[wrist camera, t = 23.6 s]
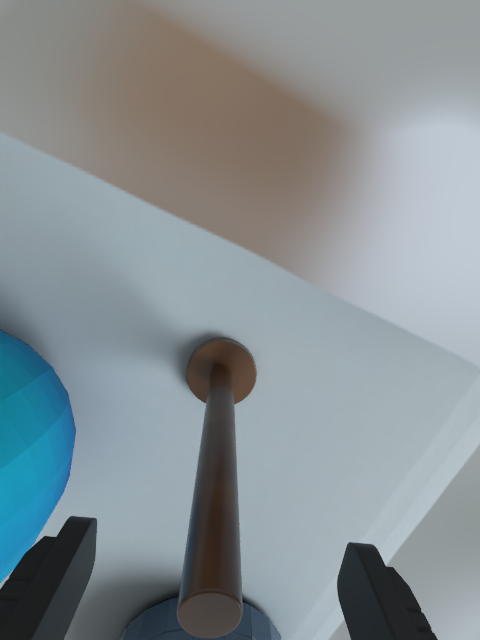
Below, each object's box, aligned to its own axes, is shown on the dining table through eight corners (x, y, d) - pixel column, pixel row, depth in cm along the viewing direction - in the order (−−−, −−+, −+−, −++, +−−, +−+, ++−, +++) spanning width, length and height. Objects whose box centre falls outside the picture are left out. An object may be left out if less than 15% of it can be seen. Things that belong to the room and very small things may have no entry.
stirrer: (265, 350, 21) (345, 560, 7) (242, 409, 22) (269, 700, 8) (199, 329, 21) (134, 509, 6) (179, 390, 22) (82, 668, 7)
